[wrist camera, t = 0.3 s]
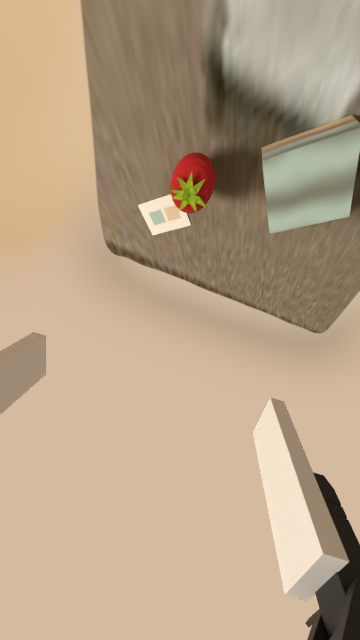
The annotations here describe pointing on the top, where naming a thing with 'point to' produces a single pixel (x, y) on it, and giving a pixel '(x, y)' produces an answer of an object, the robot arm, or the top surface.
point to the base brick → (311, 175)
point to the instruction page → (163, 215)
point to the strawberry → (192, 182)
